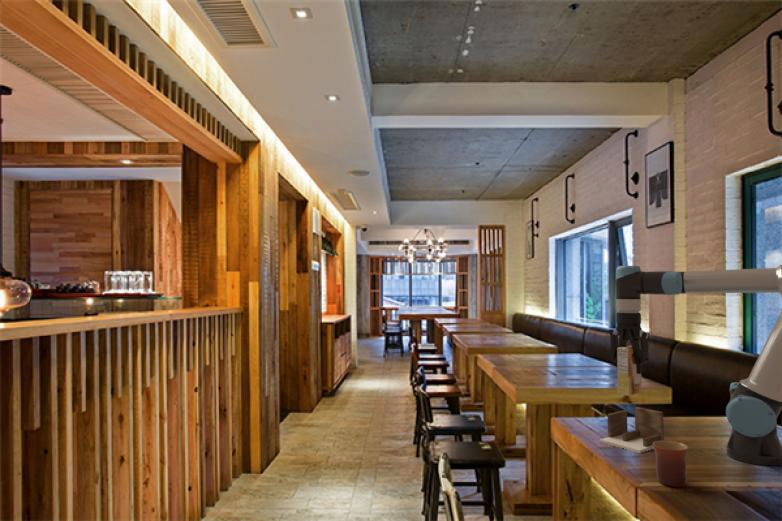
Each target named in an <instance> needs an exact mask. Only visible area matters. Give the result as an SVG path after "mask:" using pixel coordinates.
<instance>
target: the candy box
mask: <svg viewBox="0 0 782 521" xmlns="http://www.w3.org/2000/svg"><path fill="white" fill-rule="evenodd" d="M640 350H641V346H640ZM633 364H635V358H634V354H633V348H632V345H626V347H619V348H617V361H616V369H617V368H618V370H617V395H621V396H633V395H636V394H640V393H642V392H643V390H642V389H643V388H642V386H643V384H642V374H640V383H639V384H634V382H633Z"/></svg>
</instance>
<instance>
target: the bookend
mask: <svg viewBox="0 0 782 521" xmlns="http://www.w3.org/2000/svg"><path fill="white" fill-rule="evenodd" d="M664 422H665V420H664V412H663V411H659V410H655V409H648V408H645V407H634V423H635V424H634V426H635V430H630V431H628V432H626V433H623V441H625V442H626V441H629V440H633V439H636V438H643V446H644V447H648V446H651V445H653V444H652V443H653V442H655V441H665V424H664Z"/></svg>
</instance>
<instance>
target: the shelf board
mask: <svg viewBox="0 0 782 521" xmlns="http://www.w3.org/2000/svg"><path fill="white" fill-rule="evenodd" d="M599 443H601V444H605V445H607V446H608V445H609V446H610V447H611V446H612V447H614V446H615V448H618V447H620V448H619V449H622V448H624V449H623V450H625V449H627V450H626V451H629V450H630V451H629V452H633V453H637V454H642V452H643V453H646V452H649V451H652V450H654V447H653V445H651V446H648V447H644V446H643V438H636V439H633V440H629V441H626V442H625V441H623V435H619V436H615V437H612V438H610V437H608V436H607V437H604V438H601V439H599ZM651 449H652V450H651ZM648 450H649V451H648ZM645 451H646V452H645Z"/></svg>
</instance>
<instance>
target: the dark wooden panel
mask: <svg viewBox="0 0 782 521" xmlns="http://www.w3.org/2000/svg"><path fill="white" fill-rule="evenodd" d="M628 427H629V426H628V411H627V410H625V409H623V410H619V411H615V412H612V413H607V432H608V433H607V437H610V438H612V437H615V436H619V435H623V433H626V432H629V431H628V430H629V429H628Z"/></svg>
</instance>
